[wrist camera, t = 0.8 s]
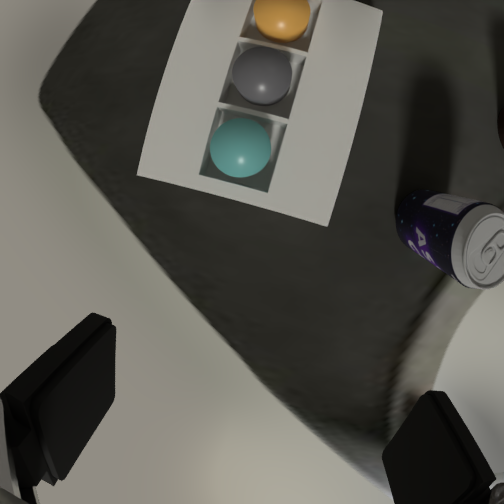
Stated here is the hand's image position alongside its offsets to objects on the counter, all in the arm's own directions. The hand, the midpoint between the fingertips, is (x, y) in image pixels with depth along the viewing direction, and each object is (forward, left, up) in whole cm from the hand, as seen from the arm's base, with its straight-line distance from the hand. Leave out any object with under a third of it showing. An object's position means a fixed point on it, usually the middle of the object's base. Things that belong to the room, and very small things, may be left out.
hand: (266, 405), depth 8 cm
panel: (-13, -4, -21) cm, 25 cm away
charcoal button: (-13, -4, -19) cm, 23 cm away
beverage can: (-6, +13, -21) cm, 25 cm away
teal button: (-7, -4, -19) cm, 20 cm away
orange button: (-19, -4, -19) cm, 27 cm away
